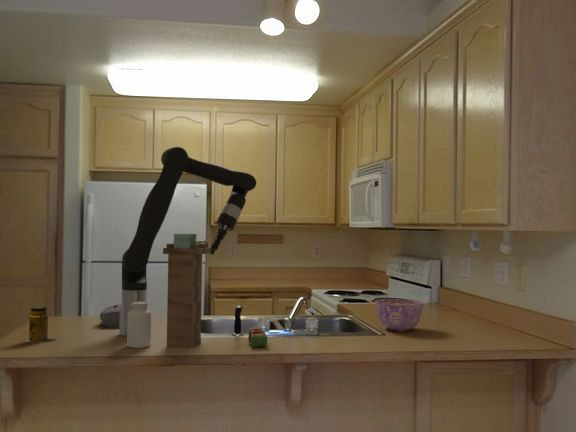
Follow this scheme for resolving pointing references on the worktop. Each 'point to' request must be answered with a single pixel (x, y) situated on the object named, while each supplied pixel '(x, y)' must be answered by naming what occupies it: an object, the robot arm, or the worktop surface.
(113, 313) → the soft grey pack
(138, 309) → the pill bottle
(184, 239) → the pull block
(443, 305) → the worktop surface
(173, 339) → the brown wooden pedestal
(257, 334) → the green red box
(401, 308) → the bowl of food
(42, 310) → the condiment
